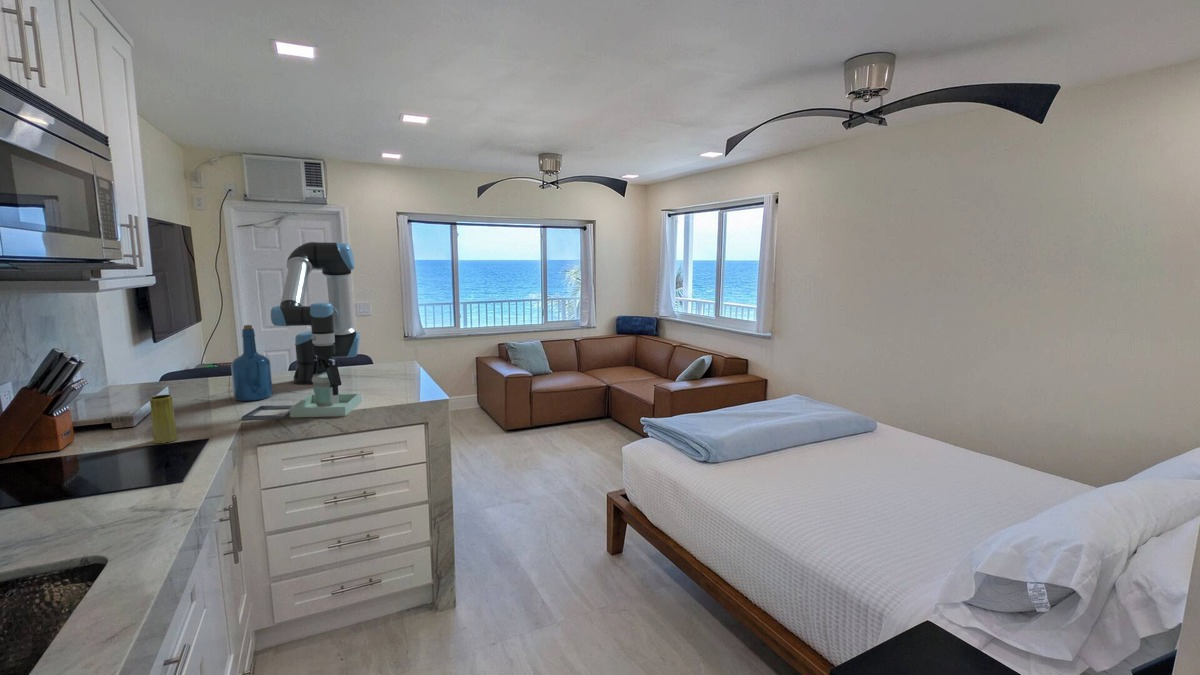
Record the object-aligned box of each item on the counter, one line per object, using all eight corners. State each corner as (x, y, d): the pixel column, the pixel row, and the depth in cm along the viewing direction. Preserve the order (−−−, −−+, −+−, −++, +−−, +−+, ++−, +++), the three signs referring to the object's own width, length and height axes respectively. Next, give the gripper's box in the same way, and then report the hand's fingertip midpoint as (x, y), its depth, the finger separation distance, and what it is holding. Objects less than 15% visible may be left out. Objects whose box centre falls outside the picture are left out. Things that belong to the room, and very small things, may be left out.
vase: (182, 439, 163) (177, 395, 161) (159, 445, 157) (154, 400, 155) (171, 436, 166) (167, 393, 163) (148, 442, 160) (143, 397, 158)
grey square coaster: (261, 408, 196) (260, 405, 196) (300, 407, 199) (299, 405, 198) (241, 419, 183) (241, 417, 183) (283, 418, 185) (283, 416, 185)
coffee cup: (334, 400, 204) (333, 370, 202) (339, 406, 198) (339, 376, 195) (310, 403, 199) (309, 373, 196) (315, 409, 192) (313, 379, 190)
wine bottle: (273, 399, 209) (267, 326, 204) (233, 404, 201) (226, 328, 197) (272, 391, 220) (266, 322, 215) (234, 395, 212) (227, 324, 208)
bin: (311, 402, 205) (310, 394, 205) (361, 401, 208) (361, 393, 207) (290, 417, 187) (289, 408, 186) (345, 416, 189) (345, 406, 189)
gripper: (298, 341, 197) (302, 396, 201) (329, 349, 184) (332, 408, 187) (318, 339, 203) (322, 392, 207) (349, 346, 190) (352, 403, 193)
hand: (327, 400), depth 197 cm, fingers open, 11 cm apart
